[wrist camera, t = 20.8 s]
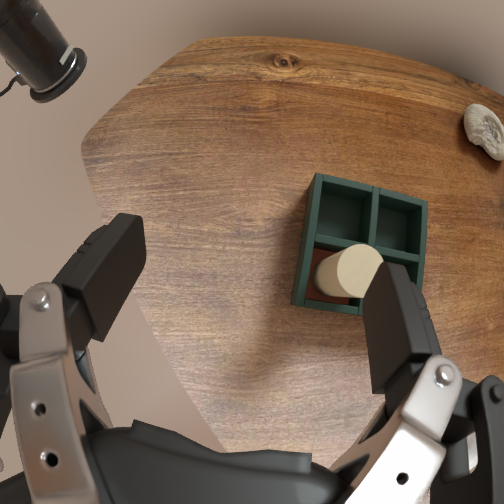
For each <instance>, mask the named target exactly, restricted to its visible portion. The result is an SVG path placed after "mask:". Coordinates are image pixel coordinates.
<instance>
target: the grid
mask: <svg viewBox="0 0 504 504" xmlns="http://www.w3.org/2000/svg"><path fill="white" fill-rule="evenodd" d="M427 211H428V201H425V200H422V199H418V198H415V197H412V196H408V195H405V194H401V193H398V192H394V191H390V190H387V189H383V188H379V187H375V186H371V185H367V184H363V183H359V182H355V181H351V180H347V179H343V178H338V177H334V176H329V175H325V174H320V173H315V175H314V177H313V179H312V181H311V183H310V185H309V190H308V197H307V204H306V211H305V218H304V224H303V231H302V237H301V244H300V250H299V256H298V262H297V268H296V274H295V280H294V285H293V291H292V297H291V302H290V304H292V305H295V306H300V307H306V308H313V309H319V310H325V311H332V312H339V313H345V314H352V315H359V316H363V314H362V303H363V298H355V297H336V296H325V295H322V294H320V293H319V292H318V291H317V290H316V289H315V288H314V286H313V284H312V279H311V276H312V271H313V269H314V267H315V265H316V264H317V263H318V262H320V261H321V260H323V259H326V258H328V257H330V256H332V255H334V254H336V253H338V252H340V251H342V250H344V249H346V248H349V247H351V246H353V245H357V244H364V245H368V246H371V247H372V248H374V249H375V250H376V251H377V252H378V253H379V254H380V255H381V257H382V259H383V261H385V262H390V263H395V264H400V265H404V266H405V268H406V270H407V273H408V276H409V278H410V281H411V282H414V283H415V284H416V286H417V287H418V288H419V290H420V291H422V283H423V274H424V264H425V253H426V238H427Z"/></svg>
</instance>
